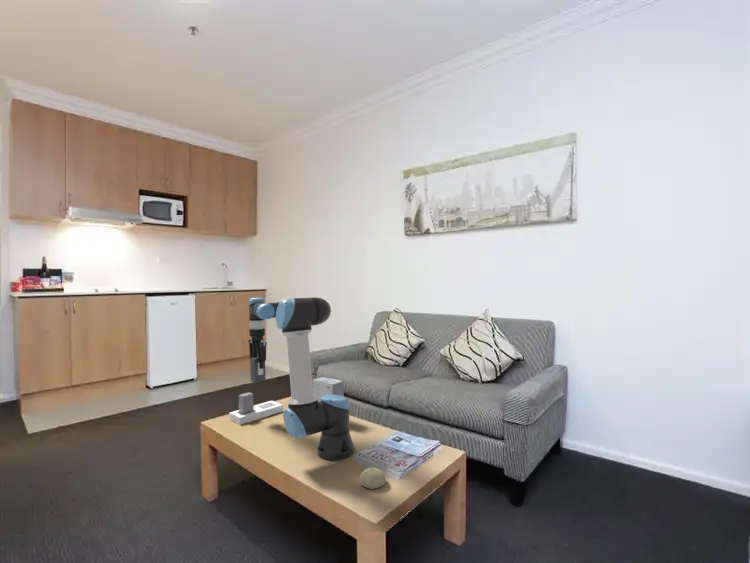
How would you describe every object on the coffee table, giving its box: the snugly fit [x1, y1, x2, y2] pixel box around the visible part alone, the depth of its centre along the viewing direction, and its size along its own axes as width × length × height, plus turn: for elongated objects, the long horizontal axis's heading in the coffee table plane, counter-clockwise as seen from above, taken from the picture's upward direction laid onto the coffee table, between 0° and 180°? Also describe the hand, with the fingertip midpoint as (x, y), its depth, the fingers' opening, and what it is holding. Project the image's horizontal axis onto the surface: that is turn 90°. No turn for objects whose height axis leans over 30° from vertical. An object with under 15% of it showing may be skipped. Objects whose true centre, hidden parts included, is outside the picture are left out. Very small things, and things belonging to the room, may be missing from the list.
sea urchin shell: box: [359, 467, 386, 490], centre depth 139 cm, size 9×8×8 cm
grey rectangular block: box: [249, 356, 266, 384], centre depth 201 cm, size 4×6×12 cm, turn 138°
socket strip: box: [228, 392, 284, 426], centre depth 207 cm, size 11×25×12 cm, turn 137°
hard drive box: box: [312, 376, 345, 402], centre depth 199 cm, size 16×8×20 cm, turn 49°
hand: (258, 373), depth 201 cm, fingers closed on grey rectangular block, 4 cm apart
